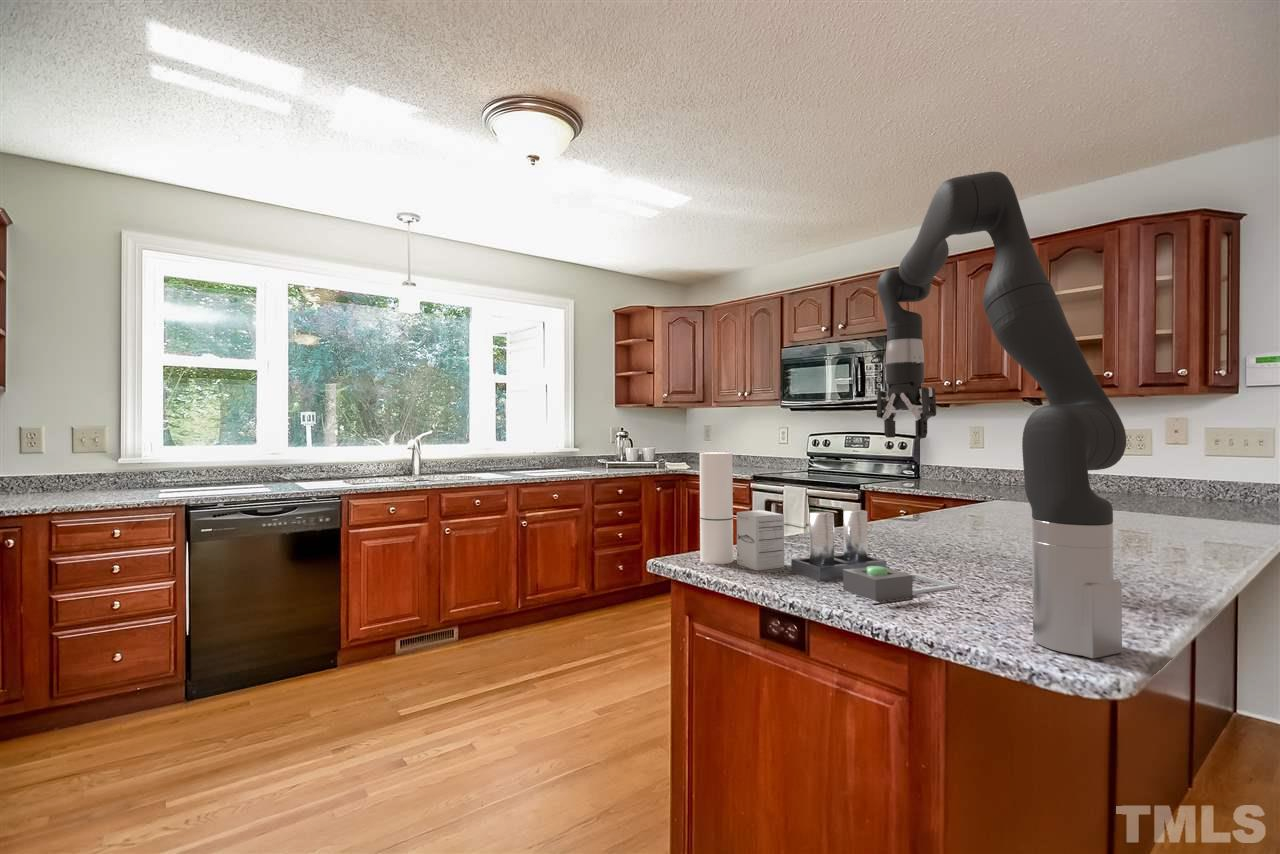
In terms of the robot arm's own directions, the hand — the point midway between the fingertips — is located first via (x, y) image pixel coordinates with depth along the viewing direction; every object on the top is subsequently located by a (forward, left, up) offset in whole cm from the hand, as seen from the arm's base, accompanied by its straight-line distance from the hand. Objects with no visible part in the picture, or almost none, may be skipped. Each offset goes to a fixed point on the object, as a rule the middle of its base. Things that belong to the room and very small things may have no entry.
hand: (905, 437), depth 134 cm
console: (-17, +24, -28) cm, 40 cm away
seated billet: (-2, +24, -27) cm, 36 cm away
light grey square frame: (-15, +13, -28) cm, 34 cm away
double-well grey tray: (-2, +20, -28) cm, 34 cm away
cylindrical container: (+18, +36, -28) cm, 49 cm away
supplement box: (+10, +30, -28) cm, 42 cm away
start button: (-17, +24, -25) cm, 38 cm away
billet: (-2, +15, -27) cm, 31 cm away
